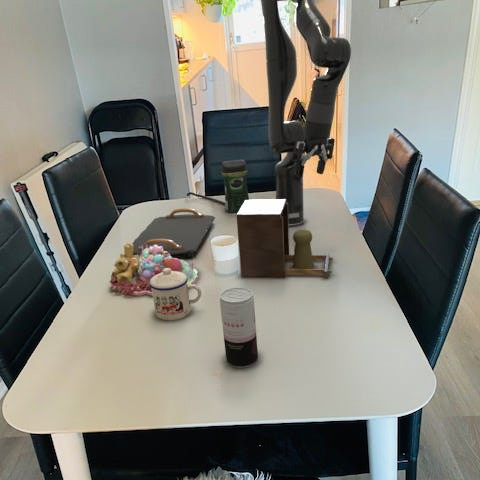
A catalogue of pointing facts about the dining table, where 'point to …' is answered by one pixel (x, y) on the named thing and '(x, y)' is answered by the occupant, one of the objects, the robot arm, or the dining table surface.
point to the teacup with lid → (172, 294)
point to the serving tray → (175, 232)
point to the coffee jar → (235, 184)
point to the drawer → (310, 271)
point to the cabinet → (263, 238)
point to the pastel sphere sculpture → (146, 269)
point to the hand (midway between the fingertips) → (309, 175)
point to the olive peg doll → (302, 250)
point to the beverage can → (239, 326)
